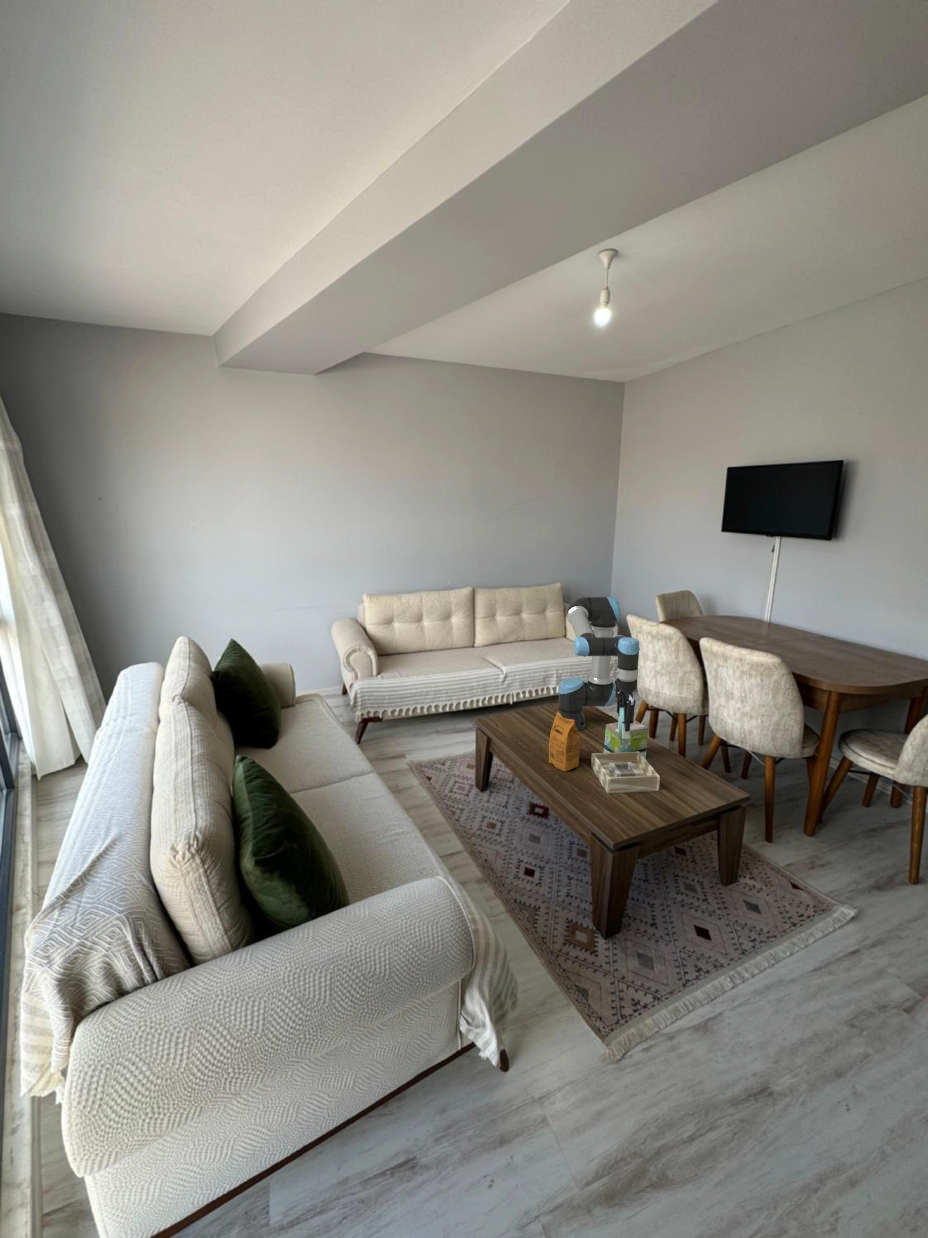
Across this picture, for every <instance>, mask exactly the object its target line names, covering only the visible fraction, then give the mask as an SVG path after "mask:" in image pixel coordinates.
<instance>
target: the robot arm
mask: <svg viewBox="0 0 928 1238" xmlns="http://www.w3.org/2000/svg"><path fill="white" fill-rule="evenodd" d="M565 614H566V618H567V621H568V622H569V623H570V624H571V626H572V630H573V632H574V634H575V638H574V640H573V642H574V643H573V649H574V654H575V656H577V657H585V658H586V657H591V669H590V670H591V672H590V673H591V675H590V676H588V677H587V681H584V680H583V679H582V678H580V677H569V678H565V679H564V680H563V679H562V680H561V681H560V682H559V685H558V689H557V690H558V710H557V712H559V713H560V714H561V715H562V717H563V718H567V719H572V720H575V721H576V723H575V726H576V728H577V730H578V732H579V731H582V730H584V729H585V728H586V726H587V725H586V723H587V722H586V718H585V716H584V715H585V714H584V712H583V711H584V710H583V707H610V706H612V705H614V702H615V701H616V713H617V716H618V717H619V714H620V708H621V707H624V722H622V723H623V731H622V738H623V739H627V738H630V725H631V724H633V721H634V720H635V719H634V718H635V707H636V706H635V705H636V699H633V698H634V694H633V692H634V691H636V690H637V689H638V679H639V677H638V676H639V658H640V651H641V650H640V649H641V648H640V641H639V639H637V638H635V637H628V636H627V637H626V636H625V635H622V634H616V635H614V636H613V629H615V627H616V626H617V623H619V622H620V621H621V615H622V614H621V607H620V603H619V600H618V598H616V597H615V596H614V597H613V596H582V597H579V598H576V599H575V600H573V601H572V602H571V603H570V604H569V606H568V607H567V609H566V613H565ZM611 657H617V664H616V665H617V668H616V670H615V673H616V677H617V678H616V682H613V681H614V680H613V679H612V678H611V676H610V675H611V674H610V673H611ZM616 695H617V696H616ZM616 699H617V700H616ZM618 733H619V723H618Z"/></svg>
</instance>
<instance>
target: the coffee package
mask: <svg viewBox="0 0 928 1238" xmlns="http://www.w3.org/2000/svg"><path fill="white" fill-rule="evenodd" d="M575 723H576V721H575V720H572V719H567V718H563V717H562V715H561V714H560V713H559V712H558V711H557V712H556V715H555V716H554V720H553V723H552V726H551V729H550V735H549V743H548V763H550V764H552V765H553V766H554V767H555V768H556V769H557V770H560V771H562V772H568V771H570V770H572V769H576V768H577V767H579V766H580V761H579V760H580V745H581V743H580V740H581V734H580V732H579V731H578V730H577V728H576V726H575Z"/></svg>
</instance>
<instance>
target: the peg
mask: <svg viewBox="0 0 928 1238" xmlns="http://www.w3.org/2000/svg"><path fill="white" fill-rule="evenodd" d="M618 722H619V733H618V738H619V739H621V740H628V739H629V738H627V739H623V738H622V731H623V723H622V722H624V707H621V708H620V714H619V716H618Z"/></svg>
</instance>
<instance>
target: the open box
mask: <svg viewBox="0 0 928 1238" xmlns="http://www.w3.org/2000/svg"><path fill="white" fill-rule="evenodd" d="M590 757H591V758H590V759H591V763H590V764H591V765H590V767H591V770H592V771H593V772H594V774H595V776H596V777H597V779H598V781H599V782H600V784H601V786H602V787H603V789H604V790H605V792H606V794H620V793H622V794H623V793H639V792H640V793H641V792H659V791H660V782H661V781H660V780H661V776H660V775H659V774H658V772H657V771H656V770H655V769H654V767H653V766H652V765H651V764H650V762H649V761H648V760H647V759H646V758H644V757H643V756H642V755H641V753H640V752H639V751H638V752H616V753H604V752H600V753H599V752H597V753H591V756H590Z"/></svg>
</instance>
